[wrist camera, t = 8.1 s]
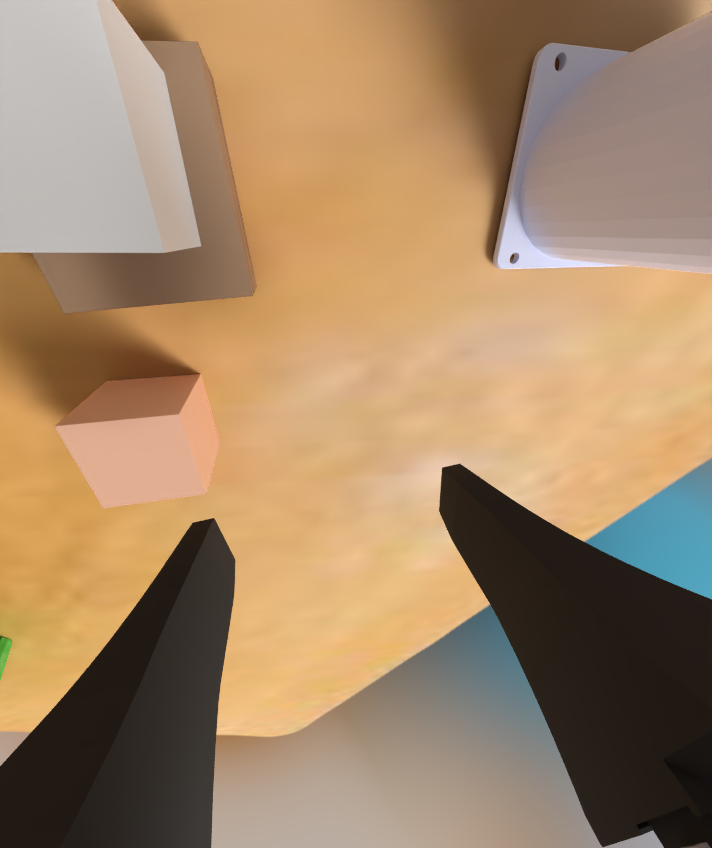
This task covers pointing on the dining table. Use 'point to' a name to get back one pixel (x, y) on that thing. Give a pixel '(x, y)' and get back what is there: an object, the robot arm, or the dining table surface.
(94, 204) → the grey block
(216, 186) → the walnut base
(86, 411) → the terracotta block
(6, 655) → the fruit basket
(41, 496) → the dining table surface
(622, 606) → the robot arm
